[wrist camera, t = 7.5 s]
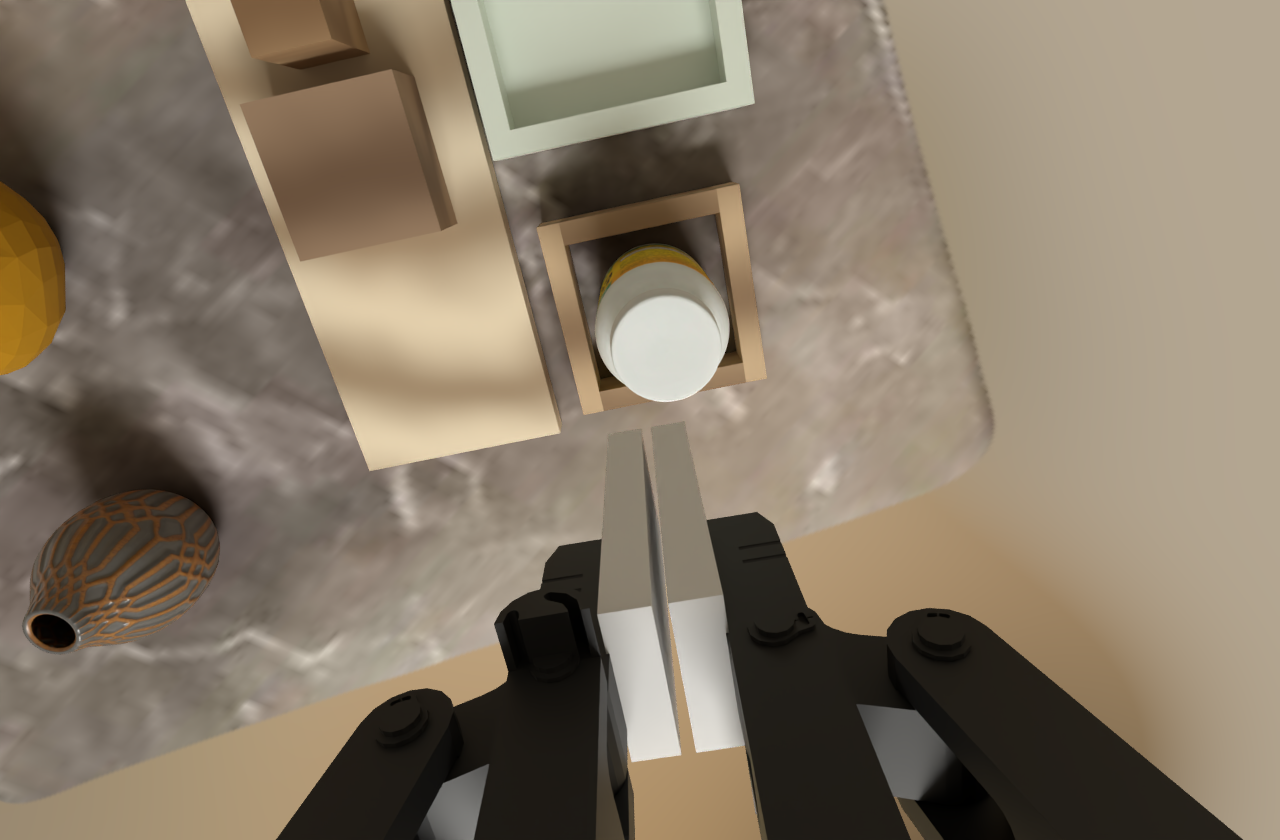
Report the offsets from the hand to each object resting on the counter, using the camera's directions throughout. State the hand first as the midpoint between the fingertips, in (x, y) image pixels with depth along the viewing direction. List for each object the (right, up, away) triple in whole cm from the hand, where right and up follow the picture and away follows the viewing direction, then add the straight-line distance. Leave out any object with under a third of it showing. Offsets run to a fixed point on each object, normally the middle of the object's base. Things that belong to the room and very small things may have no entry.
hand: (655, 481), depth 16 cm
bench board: (-12, +11, +16) cm, 22 cm away
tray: (-2, +19, +13) cm, 23 cm away
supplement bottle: (0, +8, +18) cm, 19 cm away
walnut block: (-12, +12, +14) cm, 22 cm away
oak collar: (0, +7, +17) cm, 19 cm away
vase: (-26, -4, +22) cm, 34 cm away
